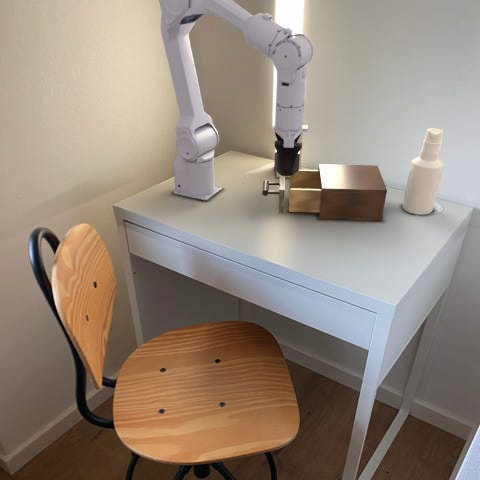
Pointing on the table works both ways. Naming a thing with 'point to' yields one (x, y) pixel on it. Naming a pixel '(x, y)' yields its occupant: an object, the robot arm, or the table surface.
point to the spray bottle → (425, 175)
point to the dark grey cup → (277, 164)
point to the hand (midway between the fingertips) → (286, 169)
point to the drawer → (298, 191)
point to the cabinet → (351, 192)
